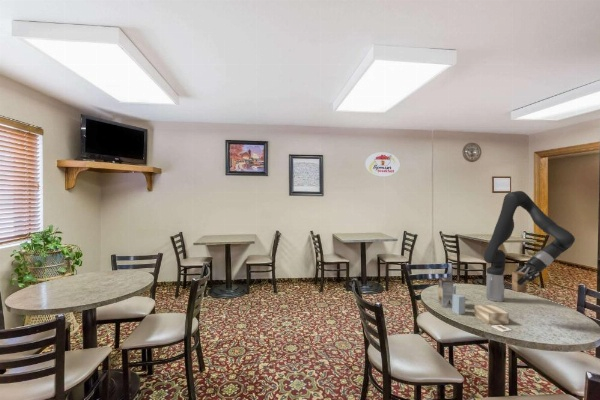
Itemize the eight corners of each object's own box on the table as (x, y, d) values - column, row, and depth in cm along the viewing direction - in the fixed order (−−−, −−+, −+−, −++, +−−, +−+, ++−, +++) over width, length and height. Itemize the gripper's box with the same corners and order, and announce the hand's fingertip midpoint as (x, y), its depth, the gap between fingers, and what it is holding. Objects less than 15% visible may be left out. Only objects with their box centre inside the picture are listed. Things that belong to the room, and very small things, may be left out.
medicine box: (455, 298, 187) (456, 285, 187) (454, 300, 184) (454, 287, 184) (443, 295, 193) (443, 283, 193) (441, 297, 189) (441, 284, 189)
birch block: (493, 315, 160) (493, 305, 160) (508, 324, 149) (508, 313, 149) (474, 315, 160) (474, 305, 160) (488, 324, 149) (488, 313, 149)
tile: (500, 325, 147) (500, 324, 147) (511, 330, 141) (511, 329, 141) (491, 326, 146) (491, 325, 146) (502, 331, 140) (502, 330, 140)
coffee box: (437, 301, 181) (438, 276, 180) (448, 302, 179) (449, 277, 179) (442, 307, 172) (442, 280, 171) (453, 308, 170) (453, 281, 170)
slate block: (458, 310, 166) (458, 294, 166) (464, 313, 162) (465, 296, 162) (452, 311, 165) (452, 294, 165) (458, 314, 161) (458, 297, 160)
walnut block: (520, 289, 154) (521, 271, 154) (526, 292, 150) (526, 273, 149) (511, 289, 155) (512, 271, 154) (517, 292, 150) (517, 273, 150)
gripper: (525, 253, 158) (502, 273, 160) (544, 258, 144) (518, 281, 145) (536, 263, 157) (512, 283, 159) (555, 269, 143) (529, 291, 145)
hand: (515, 282), depth 152 cm, fingers closed on walnut block, 4 cm apart
